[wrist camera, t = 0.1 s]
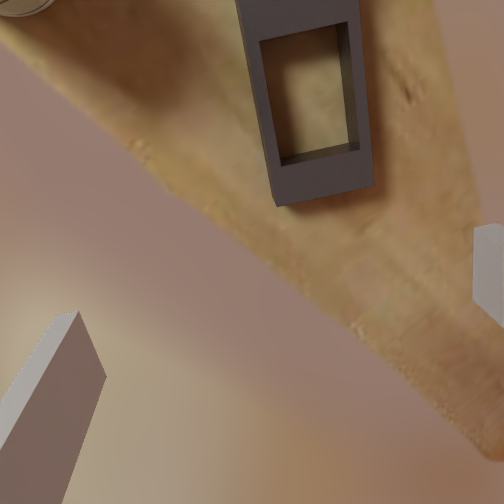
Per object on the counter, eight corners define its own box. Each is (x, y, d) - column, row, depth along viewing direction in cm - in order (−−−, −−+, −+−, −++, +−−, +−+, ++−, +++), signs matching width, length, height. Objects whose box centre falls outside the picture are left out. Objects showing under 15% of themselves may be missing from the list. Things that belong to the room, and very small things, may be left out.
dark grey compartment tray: (194, -214, 30) (191, -249, 26) (321, -244, 29) (334, -281, 26) (272, 196, 42) (276, 207, 38) (362, 176, 42) (374, 185, 38)
